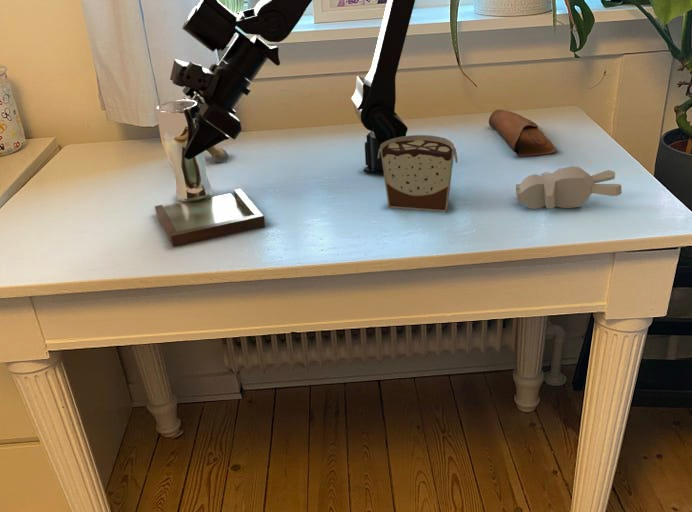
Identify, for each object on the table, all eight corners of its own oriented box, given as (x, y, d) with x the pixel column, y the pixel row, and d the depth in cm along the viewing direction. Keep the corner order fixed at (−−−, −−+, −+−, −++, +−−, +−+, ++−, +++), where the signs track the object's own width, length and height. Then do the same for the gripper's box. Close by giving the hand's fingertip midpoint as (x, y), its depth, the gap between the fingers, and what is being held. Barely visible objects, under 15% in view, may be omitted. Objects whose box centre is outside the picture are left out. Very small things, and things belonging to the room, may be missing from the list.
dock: (153, 210, 124) (151, 199, 123) (237, 192, 129) (235, 182, 128) (173, 247, 112) (170, 236, 111) (265, 226, 116) (263, 215, 115)
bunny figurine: (513, 168, 119) (612, 155, 116) (515, 198, 122) (612, 186, 119) (517, 190, 111) (624, 177, 108) (519, 222, 114) (623, 210, 111)
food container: (464, 197, 121) (465, 135, 115) (455, 212, 116) (456, 149, 110) (390, 192, 124) (388, 132, 119) (379, 206, 120) (376, 144, 114)
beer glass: (206, 202, 125) (188, 111, 116) (167, 202, 126) (147, 112, 118) (221, 187, 130) (204, 98, 122) (183, 186, 132) (165, 99, 123)
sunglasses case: (560, 150, 134) (544, 120, 131) (526, 173, 136) (509, 143, 133) (529, 121, 149) (514, 93, 146) (498, 142, 151) (483, 115, 148)
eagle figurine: (170, 157, 143) (203, 155, 138) (174, 120, 143) (207, 116, 137) (200, 168, 149) (232, 166, 144) (204, 132, 149) (237, 128, 144)
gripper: (184, 29, 123) (132, 109, 127) (206, 49, 108) (147, 139, 112) (238, 71, 129) (188, 146, 133) (266, 96, 115) (208, 179, 118)
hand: (182, 151), depth 124 cm, fingers closed on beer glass, 7 cm apart
